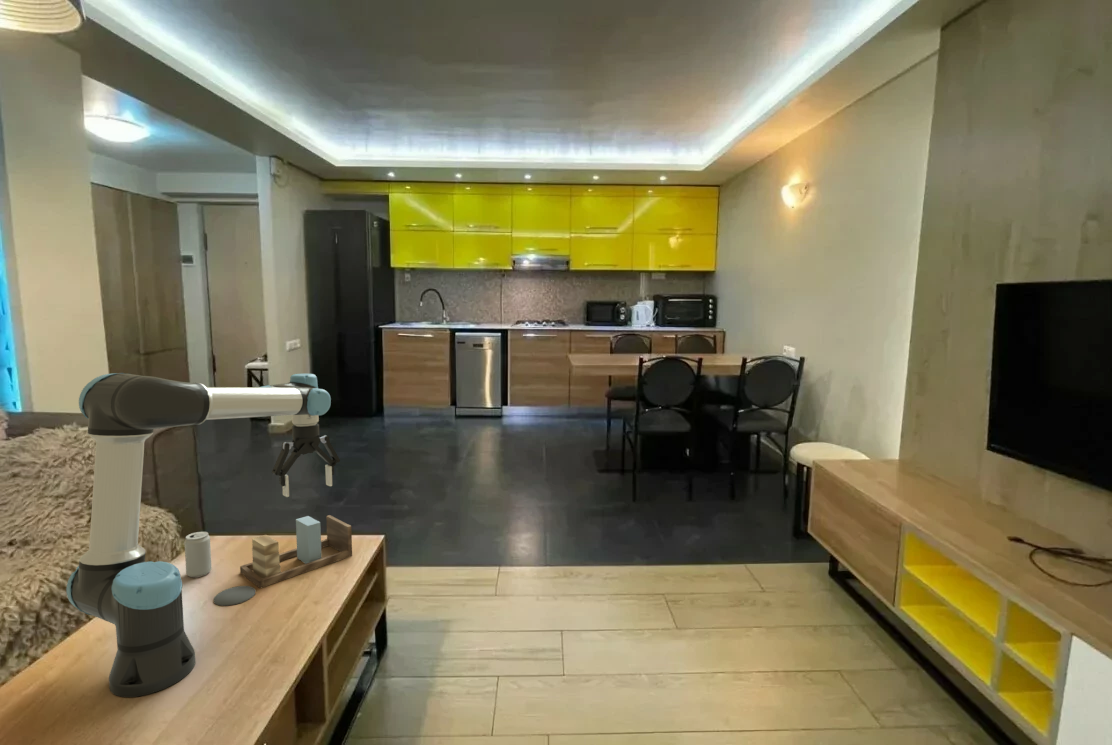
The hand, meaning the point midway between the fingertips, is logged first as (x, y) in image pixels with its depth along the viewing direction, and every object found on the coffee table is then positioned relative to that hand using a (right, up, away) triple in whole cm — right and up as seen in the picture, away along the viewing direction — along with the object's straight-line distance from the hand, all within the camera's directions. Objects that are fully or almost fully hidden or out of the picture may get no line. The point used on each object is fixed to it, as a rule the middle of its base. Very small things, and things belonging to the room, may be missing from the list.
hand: (308, 490), depth 172 cm
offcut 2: (-9, -20, -8) cm, 23 cm away
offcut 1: (-9, -16, -8) cm, 20 cm away
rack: (-3, -23, 0) cm, 23 cm away
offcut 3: (-9, -24, -7) cm, 27 cm away
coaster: (-11, -25, -20) cm, 34 cm away
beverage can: (-29, -24, -7) cm, 38 cm away
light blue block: (-1, -23, +3) cm, 23 cm away
